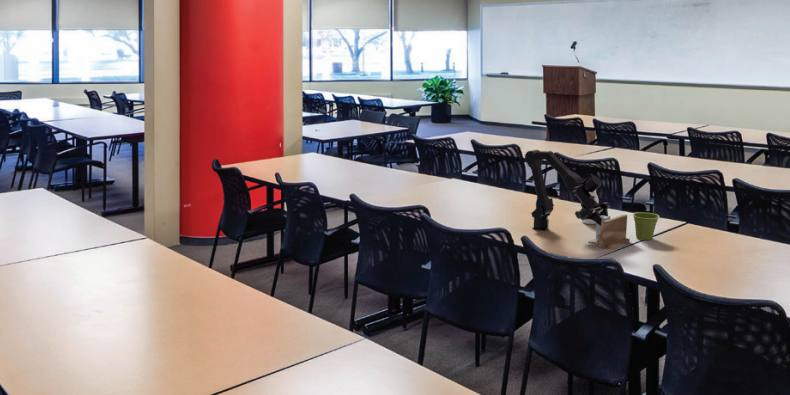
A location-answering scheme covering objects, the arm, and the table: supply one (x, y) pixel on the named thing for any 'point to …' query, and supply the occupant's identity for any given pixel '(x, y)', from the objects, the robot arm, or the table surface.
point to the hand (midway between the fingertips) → (605, 225)
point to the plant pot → (645, 225)
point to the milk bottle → (589, 221)
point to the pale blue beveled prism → (598, 227)
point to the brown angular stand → (612, 233)
